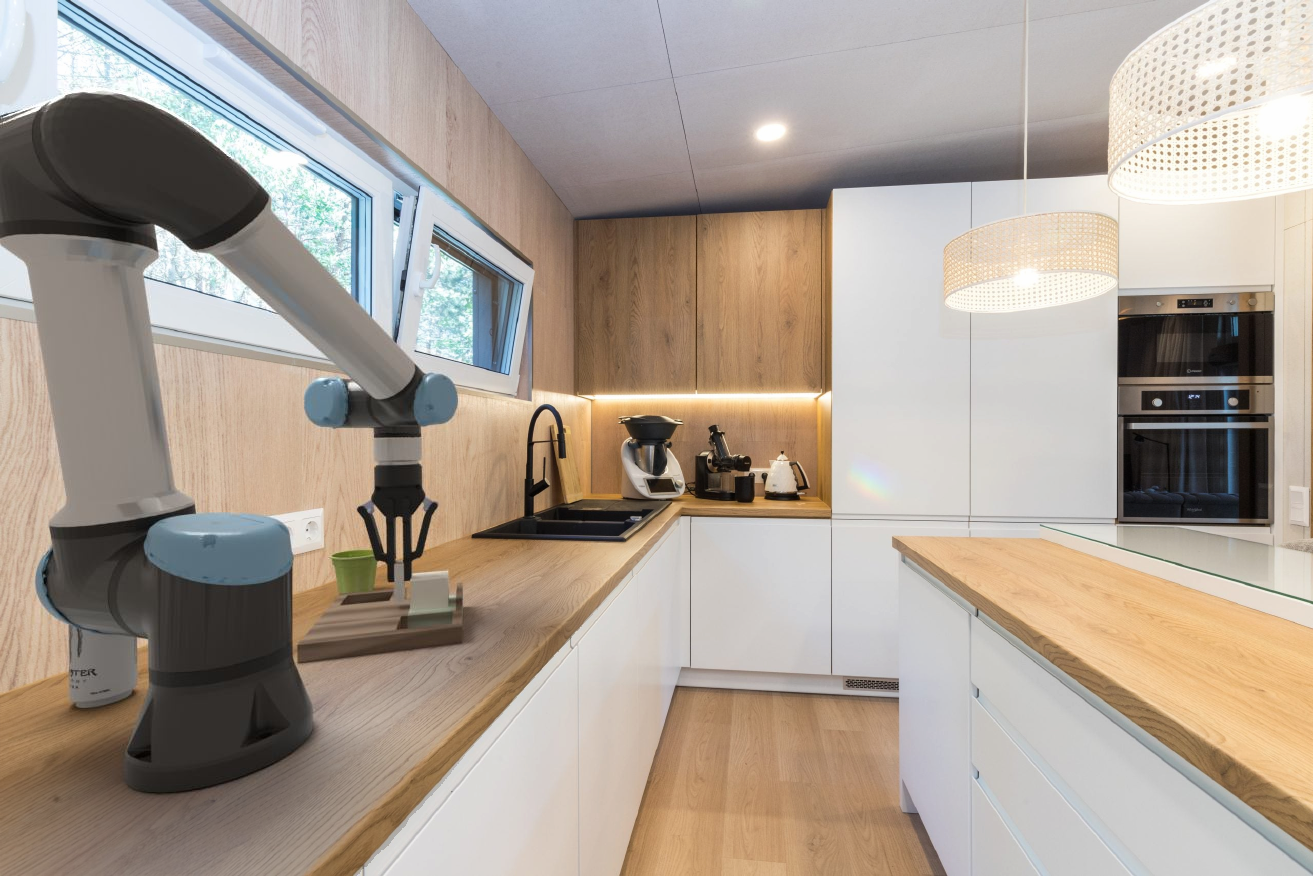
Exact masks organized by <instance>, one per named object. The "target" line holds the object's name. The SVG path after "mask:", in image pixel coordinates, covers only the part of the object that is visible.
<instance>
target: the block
mask: <svg viewBox="0 0 1313 876" xmlns="http://www.w3.org/2000/svg"><path fill="white" fill-rule="evenodd" d="M449 574H450V572H449V570H448V569H447V570H439V571H438V570H437V571H426V572H415V573H413V572H412V577H411V579H410V581H409V599H410V611H414V610H423V609H433V608H443V607H448V603H449V595H450V584H449V583H450V577H449V576H450V575H449Z"/></svg>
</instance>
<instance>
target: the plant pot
mask: <svg viewBox="0 0 1313 876" xmlns="http://www.w3.org/2000/svg"><path fill="white" fill-rule="evenodd" d="M329 559H331V562H332V565H333V567H334V572H335V578H336V584H337V590H338V591H337V592H338V596H339V595H340V594H341V593H352V592H363V591H374V590H375V582H376V576H377V575H376V574H377V570H378V569H377V568H378V562H379V561H376V560H375V557H374V553H373V550H372V548H364V549H363V548H361V549H349V550H342V551H338V552H333V553H331V554H330V555H329Z"/></svg>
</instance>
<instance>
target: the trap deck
mask: <svg viewBox="0 0 1313 876" xmlns="http://www.w3.org/2000/svg"><path fill="white" fill-rule="evenodd" d="M463 583H464V582H460V583H456V594H455V593H454V594H449V603H448V607H443V608H433V609H423V610H414V611H410V598H408V596H407V595H408V593H407V592H408V591H407V590H408V589H407V587H405V600H404V602H399V603H395V592H394V588H387V589H385V588H384V589H374V591H363V592H352V593H341V594H340V595H339V594H338V596H337V597H336V598H335V599H334V600H333V602H332V603H331V604H330V606H329V607H328V608H326V610H325V611H324V612H323V614H322V615H321V616H320V617H319V618H318V619H317V621H316V622H315V623H314V624H313V625H312V626H311V627H310V629H309V630H308V631H307V633H306V634H305V635H304V636H303V637H302V638H301V640H300V641H299V642H298V644H297V645H296V648H297V649H296V652H297V656H296V657H297V660H296V661H297V664H299V663H306V662H315V661H316V662H317V661H321V660H322V661H323V660H331V659H337V658H338V659H339V658H349V657H355V656H356V657H357V656H364V655H373V654H380V653H390V652H397V651H404V650H413V649H414V650H415V649H421V648H422V649H423V648H430V647H431V648H432V647H438V646H446V645H454V644H455V645H456V644H463V623H464V620H463V619H464V589H463V588H464V587H463V586H464V584H463Z"/></svg>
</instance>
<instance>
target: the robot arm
mask: <svg viewBox="0 0 1313 876" xmlns="http://www.w3.org/2000/svg"><path fill="white" fill-rule="evenodd" d="M155 226H156V227H160V228H162V229H163V230H165V231H167V232H168V233H170V234H172V235H173V236H174V237H176V238H177V239H178V240H180V241H181V243H183V244H184V245H185V246H186V247H187V248H189V250H190V251H192V252H194V253H200V254H201V253H203V254H209V255H212V256H213V257H214V258H215V259H216V260H217V261H218V262H219V263H221V264H222V265H223V266H224V267H225V268H226V269H227V270H229V271H230V272H231V274H233V275H234V276H236V278H238V279H239V280H240V281H241V282H242V283H243V284H244V285H245V286H246V287H248V288H249V289H250V290H251V291H252V292H253V293H254V294H255V295H257V297H259V298H260V299H261V300H262V301H263V302H264V303H265V304H266V305H268V306H269V307H270V308H271V309H272V310H273V311H274V312H275V313H277V314H278V315H279V316H280V317H281V318H282V319H284V320H285V321H286V323H288V324H289V325H290V326H291V327H292V328H294V329H295V330H296V331H297V332H298V333H299V334H300V335H301V336H303V337H304V338H305V339H306V340H307V341H308V342H309V343H310V344H312V345H313V346H314V347H315V348H316V349H317V350H318V351H320V353H322V355H323V356H325V357H326V358H327V359H328V360H330V362H332V363H333V364H334V365H335V366H336V367H338V369H339V370H341V371H342V372H343V373H344V374H345V375H346V376H347V377H348V378H341V377H339V376H335V377H318V378H316V379H314V380H313V381H312V382H311V383H310V384H308V386H307V388H306V390H305V392H304V394H303V395H304V396H303V400H304V401H303V409H304V412H305V415H306V417H307V418H308V420H309V421H310V422H311V423H312V424H313V425H315V426H316V427H317V426H318V427H321V428H331V429H333V430H335V429H341V428H343V429H372V430H373V461H374V462H376V463H377V465H375V466H374V467H373V471H374V472H373V474H374V475H373V480H374V482H373V483H374V484H373V485H374V487H373V488H374V489H373V493H372V494H371V495H370V496H371V497H370V499H369V500H368V501H367V502H365V503H363V504H360V505H359V506H357V508H356V511H357V513H358V515H359V516H360V517H361V518H362V520H363V522H364V525H365V528H366V532H367V535H368V539H369V543H370V546H371V549H372V550H373V553H374V557H375V560H376V561H378V562H383V563H385V564H386V572H387V573H386V579H387V582H388V583H389V584H390V583H394V587H393V589H394V592H395V603H399V602H404V600H405V588H406V582H410V579H411V577H412V574H413V561H415V560H418V559H420V558H422V556H423V553H424V550H425V545H426V542H427V538H428V533H429V529H430V527H431V520H432V518H433V515H434V513H435V511H436V510H437V509H438V507H439V502H438V501H435V500H432V499H431V498H429V497H427V495H426V492H425V491H424V489H423V466H422V465H421V463H419V462H420V461H422V459H423V451H422V449H423V444H422V443H423V441H422V439H423V438H422V427H423V428H424V427H428V426H433V425H434V426H435V425H443V424H446V423H448V422H449V421H451V420H452V419H453V417H454V416H455V413H456V411H457V409H458V406H459V404H458V403H459V394H458V390H457V388H456V385H455V383H454V382H453V381H452V379H451V378H449V377H448V376H447V375H445V374H443V373H434V372H428V373H425V372H424V371H423V370H422V369H421V368H420V367H419V366H418V365H417V364H416V363H415V362H414V360H413V359H412V358H411V357H410V355H409V356H408V354H407V353H406V352H405V351H404V350H403V349H402V348H401V346H399V345H398V344H397V343H396V342H395V340H394V339H393V338H392V337H391V336H390V335H389V334H388V333H387V332H386V331H385V330H384V329H383V328H382V327H381V325H380V324H379V323H377V321H376V320H375V319H374V318H373V317H372V316H371V315H370V314H369V313H368V312H367V311H366V310H365V309H364V307H363V306H361V304H360V303H359V302H358V301H357V300H356V299H355V298H354V297H353V296H352V295H351V294H350V293H349V291H348V290H347V289H346V288H345V287H344V286H343V285H342V284H341V283H340V282H339V281H338V280H337V279H336V278H335V277H334V276H333V275H332V273H331V272H329V270H328V269H327V268H326V267H325V266H324V265H323V264H322V263H321V261H319V260H318V258H316V256H315V255H314V254H313V253H312V252H311V251H310V250H309V249H308V248H307V247H306V246H305V245H304V243H302V242H301V241H300V240H299V238H297V237H296V235H295V234H294V233H293V232H292V231H291V230H290V229H289V228H288V227H287V226H286V225H285V223H284V222H282V220H281V219H280V218H279V217H278V216H277V215H276V214H275V213H274V212H273V211H272V196H271V195H270V194H269V193H268V191H267V190H266V189H265V188H264V187H263V186H262V185H261V184H260V183H259V181H257V180H256V179H255V177H253V175H251V173H249V172H248V171H247V170H246V168H244V166H242V164H240V163H239V162H238V161H237V160H236V159H235V157H233V156H232V155H231V154H230V153H229V152H227V150H225V149H224V148H223V147H222V146H220V145H219V144H218V143H217V142H215V141H214V140H213V139H212V138H211V137H209V136H208V135H207V134H205V133H204V132H203V131H202V130H200V129H198V127H195V126H194V125H193V124H191V123H189V122H188V121H187V120H185V119H184V118H182V117H181V116H179V115H177V114H175V113H174V112H173V111H170V110H169V109H167V108H165V107H163V106H161V105H160V104H157V103H154V102H153V101H151V100H149V99H147V98H143V97H141V96H139V95H135V94H132V93H128V92H125V91H121V90H115V89H111V88H101V87H99V88H97V87H89V88H82V89H75V90H71V91H68V92H65V93H63V94H61V95H58V96H57V97H55V98H52V99H49V100H47V101H44V102H43V101H42V102H41V103H38V104H36V105H33V106H30V107H27V108H25V109H17V110H14V111H10V112H5V113H2V114H0V246H1V247H2V248H4V249H5V250H7V251H8V252H10V254H12V255H13V256H15V257H17V258H18V259H19V260H21V261H22V262H24V264H25V266H26V268H27V274H28V279H29V285H30V292H31V298H32V304H33V308H34V314H35V321H36V325H37V326H36V327H37V332H38V338H39V344H40V350H41V356H42V363H43V367H44V374H45V375H44V376H45V379H46V385H47V391H48V397H49V403H50V408H51V409H50V411H51V414H52V421H53V426H54V431H55V432H54V433H55V439H56V444H57V450H58V455H59V456H58V457H59V461H60V467H61V469H60V470H61V473H62V479H63V481H62V482H63V486H64V492H65V498H66V501H65V504H64V506H62V508H60V509H59V510H58V511H57V512H56V513H55V514H54V515H53V516H52V517H51V518H50V519H49V520H48V528H49V534H50V540H51V545H50V548H49V549H48V550H47V551H46V553H45V554H44V555H42V557H41V558H40V560H39V562H38V565H37V567H36V571H35V580H34V585H35V591H36V594H37V597H38V600H39V602H40V603H41V605H42V606H43V607H44V609H46V611H47V612H48V613H49V614H50V616H51V615H52V616H53V617H54V618H56V620H58V621H60V622H62V623H65V624H66V625H68V624H69V625H72V626H74V627H75V628H78V629H81V630H86V631H90V632H91V633H96V634H107V635H114V634H116V635H123V636H130V637H137V639H138V638H139V639H145V640H147V642H148V643H147V647H148V648H147V650H148V652H147V654H148V690H147V693H146V696H145V698H144V701H143V703H142V706H141V709H140V711H139V714H138V717H137V720H136V721H135V722H136V723H135V725H134V727H133V730H132V733H131V736H130V738H129V741H128V744H127V746H126V749H125V753H124V761H123V762H124V781H125V783H126V785H128V786H129V787H130V788H132V789H134V790H137V791H141V792H147V793H148V792H149V793H173V792H176V793H177V792H183V791H189V790H196V789H200V788H205V787H209V786H213V785H217V784H222V783H224V782H228V781H231V780H234V779H238V778H240V777H243V776H246V775H248V774H252V773H254V772H256V771H258V770H261V769H263V768H265V767H267V766H269V765H271V764H273V763H276V762H278V761H280V760H281V759H282V758H284V757H286V756H288V755H289V754H291V753H293V752H294V751H295V750H296V749H298V748H300V747H301V746H302V744H303V743H305V742H306V741H307V740H308V739H309V737H310V735H311V734H312V732H313V729H314V708H313V704H312V700H311V698H310V696H309V693H308V691H307V689H306V687H305V684H304V682H303V679H302V676H301V674H300V672H299V669H298V667H297V665H296V662H295V660H294V651H293V650H294V646H293V639H294V638H293V631H294V630H293V626H294V625H293V623H294V622H293V617H294V616H293V613H294V612H293V606H294V605H293V602H294V601H293V596H294V595H293V590H294V589H293V583H294V582H293V579H294V578H293V577H294V576H293V575H294V572H293V571H294V570H293V568H294V567H293V566H294V559H295V558H294V553H293V550H292V549H293V548H292V542H291V534H290V531H289V528H288V527H287V526H286V524H284V523H283V521H281V520H279V519H277V518H274V517H271V516H267V515H262V514H255V513H246V512H245V513H243V512H237V513H231V512H204V513H203V512H201V513H197V512H196V511H197V510H196V509H197V508H196V503H195V499H194V498H192V497H190V496H189V495H187V494H185V493H183V492H182V491H180V490H179V489H177V487H176V486H175V480H174V472H173V465H172V459H171V452H170V445H169V439H168V433H167V432H168V430H167V425H166V420H165V419H166V418H165V412H164V405H163V399H162V398H163V397H162V391H161V385H160V379H159V370H158V365H157V364H158V363H157V358H156V357H157V356H156V351H155V343H154V338H153V337H154V336H153V330H152V323H151V317H150V312H149V304H148V296H147V290H146V283H145V277H144V273H145V270H146V269H147V268H148V267H150V266H151V265H152V264H153V263H155V262H156V261H157V260H158V259H159V257H160V255H159V247H158V240H157V239H158V238H157V234H156V227H155ZM422 503H423V507H422V509H423V511H424V512H425V513H424V515H423V518H422V523H421V527H420V532H419V535H418V539H417V544H416V548H415V550H413V536H412V535H413V533H412V532H413V531H412V529H413V527H412V523H413V515H414V514H415V512H417V510H418V509H419V508H420V506H421V505H422ZM374 506H375V507H376V508H377V510H379V512H380V514H381V515H383V516H384V517H385V525H386V526H385V527H386V529H385V531H386V533H385V534H386V535H385V536H386V540H385V541H386V552H385V550H384V547H383V544H382V540H381V536H380V533H379V530H378V526H377V523H376V519H375V516H374V514H373V513H375V507H374ZM397 518H401V519H402V520H401V521H402V560H396V559H397V530H396V529H397V524H396V523H397Z"/></svg>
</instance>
